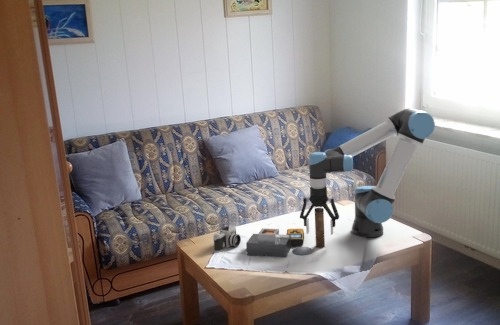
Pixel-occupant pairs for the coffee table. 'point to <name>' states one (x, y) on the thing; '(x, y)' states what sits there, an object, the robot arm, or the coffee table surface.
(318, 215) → the brown cylinder with cap
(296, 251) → the coaster
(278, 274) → the coffee table surface
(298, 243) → the electronic device
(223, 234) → the camera
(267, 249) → the box
